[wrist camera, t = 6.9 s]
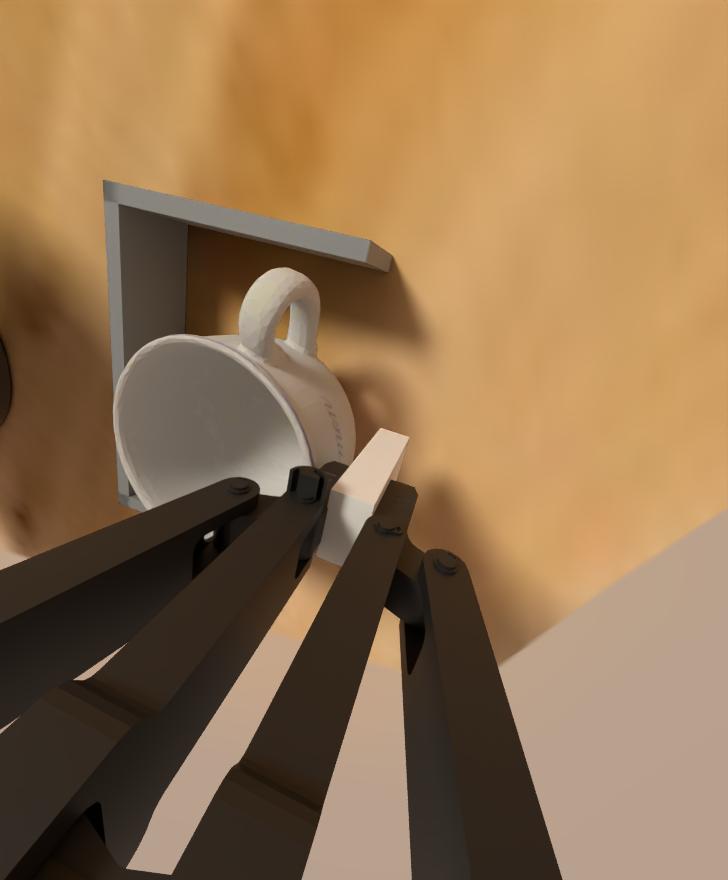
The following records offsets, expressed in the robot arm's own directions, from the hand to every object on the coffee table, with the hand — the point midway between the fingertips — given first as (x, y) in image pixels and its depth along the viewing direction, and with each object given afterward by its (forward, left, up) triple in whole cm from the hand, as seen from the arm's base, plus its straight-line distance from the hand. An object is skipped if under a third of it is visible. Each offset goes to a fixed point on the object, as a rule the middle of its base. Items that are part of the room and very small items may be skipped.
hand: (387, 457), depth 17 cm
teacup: (-6, 0, -4) cm, 8 cm away
